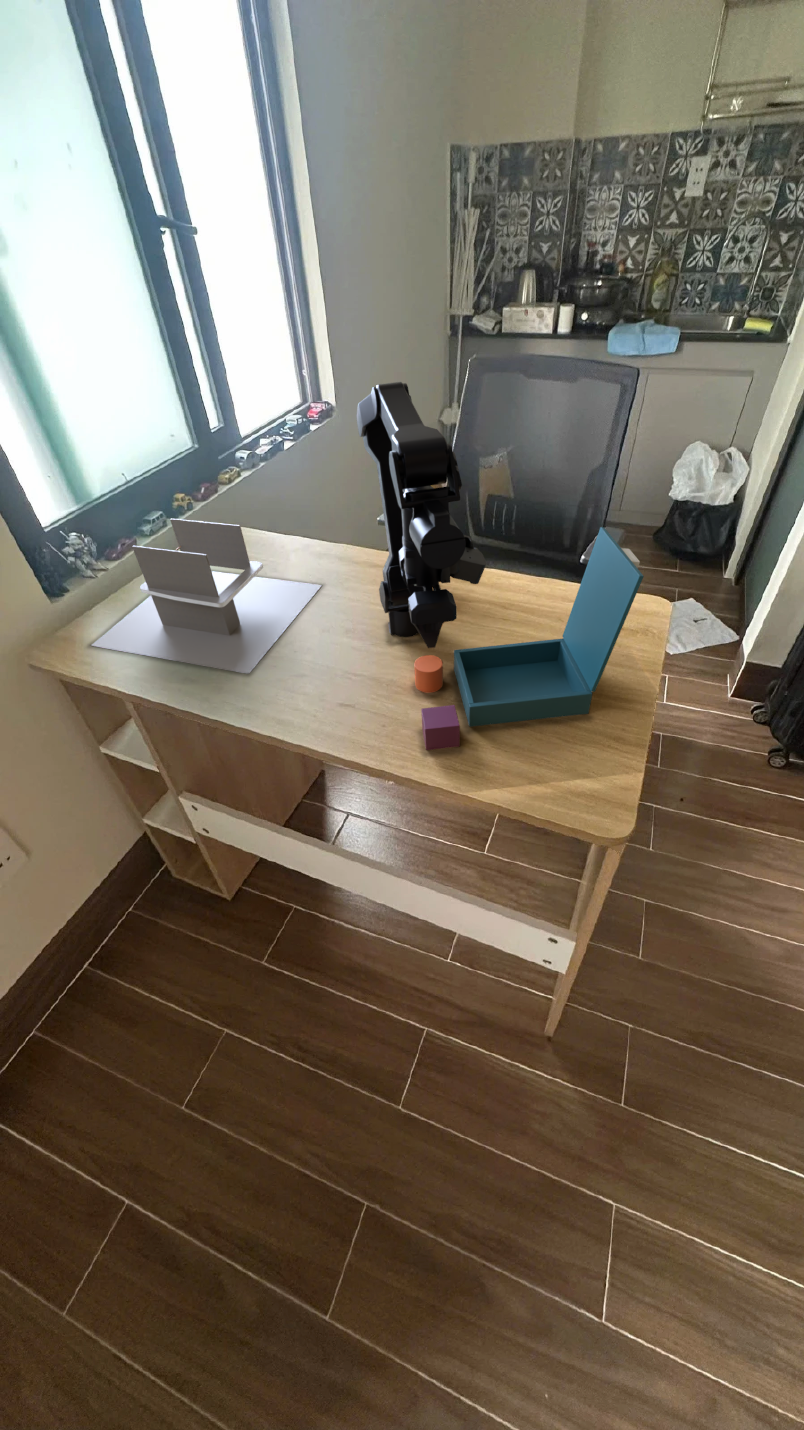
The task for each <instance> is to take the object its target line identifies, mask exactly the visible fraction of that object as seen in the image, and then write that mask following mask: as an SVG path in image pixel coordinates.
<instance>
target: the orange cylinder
mask: <svg viewBox="0 0 804 1430" xmlns="http://www.w3.org/2000/svg"><path fill="white" fill-rule="evenodd" d="M413 666H414V667H413V668H414V685H415V688H416V689H417V690H418V691H419V692H422V693H427V694H428V693H435V692H438V691H440V690H441V689H442V687H443V686H444V676H443V675H444V667H443V666H444V665H443V661H442V659H441V658H440V657H438V656H436V655H431V654H427V655H422V656H419V657H418V658H416V659H415V660H414V663H413Z"/></svg>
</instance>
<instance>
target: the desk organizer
mask: <svg viewBox="0 0 804 1430" xmlns="http://www.w3.org/2000/svg"><path fill="white" fill-rule="evenodd" d="M169 521H170V524H171V526H172V530H173V533H174V536H175V539H176V542H177V544H178V547H177V548H175V550H173V549H166V548H164V549H163V548H157V547H156V548H155V547H150V546H140V545H132V546H131V548H132V550H133V553H134V555H135V558H136V561H137V563H138V566H139V568H140V570H141V571H140V572H141V573H142V576H143V578H144V582H143V583H142V584H141V585H140V586H139V590H140V593H143V594H146V595H149V596H148V597H147V598H146V599H144V600H143V601H142V602H141V603H140V604H138V605H137V606H136V607H135V608H133V610H131V611H130V612H129V613H128V614H127V615H125V616H124V617H122V619H121V620H119V621H118V622H117V623H116V624H114V625H113V626H112V627H111V628H110V629H109V630H108V631H106V632H105V633H104V634H103V635H101V636H100V637H99V638H98V639H97V640H95V641H94V642H93V643H92V644H90V646H91V647H95V648H103V649H107V650H113V651H118V652H119V651H120V652H124V653H129V654H134V655H141V656H147V657H153V658H157V659H158V658H159V659H164V660H170V661H175V662H180V663H186V664H191V665H197V666H203V667H208V668H212V669H213V668H214V669H220V670H225V671H231V672H237V673H242V674H247V675H248V674H250V673H251V672H252V671H253V670H254V668H255V667H256V666H257V665H258V663H260V661H261V660H262V659H263V657H264V656H265V655H266V654H267V653H268V651H269V650H270V649H271V648H272V647H273V645H274V644H275V643H276V642H277V641H278V639H279V638H280V637H281V636H282V634H283V633H284V632H285V631H286V630H287V628H288V627H289V626H290V625H291V624H292V622H293V621H294V620H295V619H296V617H297V616H298V615H299V614H300V613H301V611H302V610H304V608H305V607H306V606H307V604H308V603H309V602H310V601H311V599H312V598H313V597H314V596H315V594H316V593H317V592H318V591H319V590H320V588H321V587H322V584H317V583H308V582H307V583H306V582H301V581H293V580H285V579H277V578H269V577H263V576H262V577H261V576H257V575H258V573H260V572H261V571H262V570H263V569H264V565H263V562H261V561H254V560H250V558H249V554H248V550H247V546H246V542H245V538H244V534H243V531H242V527H241V524H231V523H220V522H212V521H211V522H210V521H203V520H192V519H181V518H169ZM211 567H218V568H225V569H235V570H241V571H242V570H243V571H242V572H241V573H240V574H239V573H238V574H237V573H230V572H223V571H222V572H221V571H214V570H212V568H211Z"/></svg>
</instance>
